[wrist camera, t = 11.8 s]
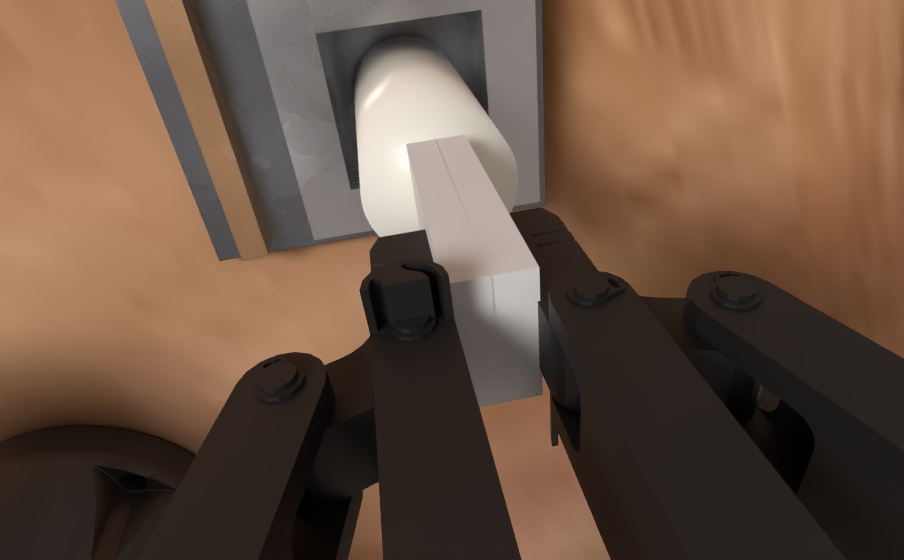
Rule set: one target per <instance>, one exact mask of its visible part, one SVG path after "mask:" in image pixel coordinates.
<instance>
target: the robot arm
mask: <svg viewBox="0 0 904 560" xmlns="http://www.w3.org/2000/svg"><path fill="white" fill-rule="evenodd" d="M406 148H407V154H408V160H409V167H410V173H411V179H412V185H413V192H414V198H415V204H416V210H417V217H418V223H419V229H420V230H418V231H413V232H407V233H401V234H395V235H389V236H383V237H379V238H378V239H377V241H376V242H375V244H374V245H373V247H372V248H371V250H370V262H371V272H370V274H369V275H368V276H367V277H366V278H365V279H364V280H363V281H362V284H361V287H360V294H361V298H362V302H363V306H364V311H365V315H366V319H367V323H368V327H369V331H370V337H369V338H368V339H367V340H366V342H365V343H364V344H363V345H362V346H360V347H359V348H358V349H356V350H355V351H354V352H352V353H350V354H349V355H347V356H345V357H343V358H341V359H338V360H336V361H334V362H331V363H329V364H327V365H324V364H323V362H322V361H321V360H320V359H319V358H317V357H315V356H313V355H311V354H307V353H298V352H293V353H286V354H280V355H276V356H274V357H271V358H269V359H266V360H264V361H261V362H260V363H258V364H257V365H256V366H254V367H253V368H251V369H250V370H248V371H247V372H246V373H245V374H244V375H243V377H242V378H241V379H240V380H239V382H238V383H237V384H236V386H235V387H234V389H233V391H232V393H231V395H230V396H229V398H228V400H227V402H226V403H225V405H224V407H223V409H222V410H221V412H220V414H219V416H218V418H217V419H216V421H215V423H214V425H213V426H212V428H211V430H210V432H209V434H208V435H207V437H206V439H205V441H204V442H203V444H202V446H201V448H200V449H199V451H198V453H197V455H196V457H194V456H193V455H191V454H190V453H188V452H186V451H185V450H183V449H181V448H179V447H177V446H175V445H173V444H170V443H168V442H166V441H163V440H161V439H158V438H155V437H152V436H148V435H145V434H141V433H137V432H133V431H128V430H123V429H116V428H109V427H97V426H68V427H57V428H49V429H43V430H38V431H33V432H29V433H26V434H22V435H19V436H16V437H13V438H11V439H9V440H6V441H4V442H2V443H0V560H348V556H349V552H350V548H351V543H352V539H353V535H354V531H355V527H356V523H357V519H358V514H359V510H360V506H361V502H362V497H363V490H364V489H366V488H367V487H369V486H371V485H373V484H375V483H377V482H379V492H380V509H381V526H382V543H383V560H521V556H520V553H519V549H518V546H517V542H516V538H515V535H514V531H513V528H512V524H511V520H510V517H509V513H508V510H507V506H506V502H505V499H504V495H503V492H502V488H501V484H500V481H499V477H498V473H497V470H496V466H495V463H494V459H493V455H492V452H491V448H490V445H489V441H488V437H487V434H486V430H485V427H484V423H483V419H482V416H481V412H480V409H479V407H482V406H487V405H492V404H497V403H502V402H507V401H512V400H517V399H522V398H528V397H533V396H538V395H543V388H542V374H543V376H544V379H545V381H546V383H547V385H548V388H549V390H550V419H551V441H552V446H557V445H558V433H559V435H560V438H561V440H562V443H563V445H564V447H565V450H566V452H567V455H568V457H569V460H570V462H571V464H572V467H573V469H574V472H575V474H576V476H577V479H578V481H579V484H580V486H581V489H582V491H583V493H584V496H585V498H586V501H587V503H588V506H589V508H590V510H591V513H592V515H593V518H594V520H595V522H596V525H597V527H598V530H599V532H600V535H601V537H602V539H603V542H604V544H605V547H606V549H607V552H608V554H609V556H610V559H611V560H904V359H903V358H901V357H900V356H898V355H896V354H894V353H893V352H891V351H889V350H887V349H886V348H884V347H882V346H880V345H879V344H877V343H875V342H873V341H872V340H870V339H868V338H866V337H865V336H863V335H861V334H859V333H857V332H856V331H854V330H852V329H850V328H849V327H847V326H845V325H843V324H842V323H840V322H838V321H836V320H835V319H833V318H831V317H829V316H828V315H826V314H824V313H822V312H821V311H819V310H817V309H815V308H814V307H812V306H810V305H808V304H806V303H805V302H803V301H801V300H799V299H798V298H796V297H794V296H792V295H791V294H789V293H787V292H785V291H784V290H782V289H780V288H778V287H777V286H775V285H773V284H771V283H770V282H768V281H765V280H763V279H760V278H758V277H756V276H753V275H749V274H744V273H739V272H734V271H716V272H712V273H707V274H702V275H701V276H699V277H697V278H695V279H694V280H692V281H691V283H690V285H689V287H688V289H687V295H686V298H654V297H643V296H638V294H637V293H636V292H635V290H634V289H633V288H632V287H631V285H629V284H628V283H627V282H626V281H624V280H623V279H622V278H620V277H618V276H615V275H613V274H610V273H607V272H600V271H598V270H597V269H596V267H595V266H594V265H593V263H592V262H591V260H590V259H589V258H588V256H587V255H586V254H585V252H584V251H583V249H582V248H581V247H580V245H579V244H578V243H577V241H575V239H574V237H573V236H572V234H571V233H570V232H569V231H567V228H566V226H565V225H564V223H563V222H562V221H561V219H560V218H559V217H558V216H556V215H555V214H553V213H551V212H549V211H547V210H545V209H543V208H536V209H530V210H524V211H519V212H513V213H508V211H507V209H506V207H505V206H504V204H503V202H502V200H501V198H500V197H499V195H498V193H497V191H496V190H495V188H494V186H493V184H492V182H491V181H490V179H489V177H488V175H487V174H486V172H485V170H484V168H483V167H482V165H481V163H480V161H479V159H478V158H477V156H476V154H475V152H474V151H473V149H472V147H471V145H470V144H469V142H468V140H467V138H466V136H465V135H458V136H452V137H446V138H440V139H433V140H427V141H421V142H415V143H408V144H406ZM763 386H764V387H765V388H766V389H768V390H769V391H770V392H772V393H773V394H774V395H776V396H777V397H778V398H780V401H779V404H778V406H773V405H771V404H770V403H768V402H766V401H765V400H763V399H762V398H761V397H760V395H761V391H762V387H763Z"/></svg>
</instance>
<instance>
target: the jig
mask: <svg viewBox="0 0 904 560" xmlns="http://www.w3.org/2000/svg"><path fill="white" fill-rule="evenodd" d="M115 1H116V3H117V6H118V8H119V11H120V13H121V16H122V18H123V21H124V23H125V26H126V28H127V31H128V33H129V36H130V38H131V41H132V43H133V46H134V48H135V51H136V53H137V56H138V58H139V61H140V63H141V66H142V68H143V71H144V73H145V76H146V78H147V81H148V83H149V86H150V88H151V91H152V93H153V96H154V98H155V101H156V103H157V106H158V108H159V111H160V113H161V116H162V118H163V121H164V123H165V126H166V128H167V131H168V133H169V136H170V138H171V141H172V143H173V146H174V148H175V151H176V153H177V156H178V158H179V161H180V163H181V166H182V168H183V171H184V173H185V176H186V178H187V181H188V183H189V186H190V188H191V191H192V193H193V196H194V198H195V201H196V203H197V206H198V208H199V211H200V213H201V216H202V218H203V221H204V223H205V226H206V228H207V231H208V233H209V236H210V238H211V241H212V243H213V246H214V248H215V251H216V253H217V256H218V258H219V261H222V260H228V259H234V258H240V257H241V258H242V259H248V258H254V257H259V256H265V255H269V252H275V251H280V250H286V249H292V248H298V247H304V246H310V245H315V244H321V243H327V242H333V241H339V240H345V239H350V238H356V237H362V236H368V235H374V234H377V233H376V232H375V231H374V230H373V228H372V227H371V225H370V224H369V222H368V220H367V218H366V216H365V213H364V210H363V207H362V202H361V195H360V180H359V165H358V149H357V134H356V119H355V103H354V80H355V75H356V72H357V69H358V67H359V65H360V63H361V61H362V59H363V58H364V57H365V55H366V54H367V53H368V52H369V51H370V50H371V49H372V48H373V47H375V46H376V45H377V44H379V43H381V42H383V41H385V40H387V39H390V38H394V37H399V36H412V37H417V38H421V39H424V40H426V41H428V42H430V43H432V44H433V45H435V46H436V47H438V48H439V49H440V50H441V51H442V52H443V53H444V54H445V56H446V57H447V58H448V59H449V61H450V62H451V64H452V65H453V67H454V68H455V69H456V71H457V72H458V74H459V75H460V76H461V78H462V79H463V81H464V82H465V84H466V85H467V86H468V88H469V89H470V91H471V92H472V94H473V95H474V96H475V98H476V99H477V101H478V102H479V103H480V105H481V106H482V108H483V109H484V111H485V112H486V113H487V115H488V116H489V118H490V119H491V120H492V122H493V123H494V125H495V126H496V128H497V129H498V130H499V132H500V133H501V135H502V136H503V137H504V139H505V140H506V142H507V143H508V145H509V147H510V148H511V150H512V153H513V155H514V157H515V160H516V164H517V168H518V176H519V179H518V192H517V197H516V201H515V204H514V207H513V209H512V211H514V210H519V209H525V208H531V207H537V206H543V205H545V150H544V91H543V33H542V0H115Z"/></svg>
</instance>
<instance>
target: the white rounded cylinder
mask: <svg viewBox="0 0 904 560" xmlns="http://www.w3.org/2000/svg"><path fill="white" fill-rule="evenodd" d="M354 103H355V119H356V134H357V149H358V165H359V180H360V195H361V202H362V207H363V210H364V213H365V216H366V218H367V220H368V222H369V224H370V225H371V227H372V228H373V230H374V231H375V232H376V233H377V234H378V236H379V237H383V236H389V235H395V234H401V233H407V232H413V231H418V230H420V229H419V223H418V217H417V210H416V204H415V198H414V192H413V185H412V179H411V173H410V167H409V160H408V154H407V148H406V144H408V143H415V142H421V141H427V140H433V139H440V138H446V137H452V136H458V135H465V136H466V138H467V140H468V142H469V144H470V145H471V147H472V149H473V151H474V152H475V154H476V156H477V158H478V159H479V161H480V163H481V165H482V167H483V168H484V170H485V172H486V174H487V175H488V177H489V179H490V181H491V182H492V184H493V186H494V188H495V190H496V191H497V193H498V195H499V197H500V198H501V200H502V202H503V204H504V206H505V207H506V209H507V211H508V213H511V211H512V209H513V207H514V204H515V201H516V197H517V192H518V179H519V176H518V168H517V164H516V160H515V157H514V155H513V153H512V150H511V148H510V147H509V145H508V143H507V142H506V140H505V139H504V137H503V136H502V135H501V133H500V132H499V130H498V129H497V128H496V126H495V125H494V123H493V122H492V120H491V119H490V118H489V116H488V115H487V113H486V112H485V111H484V109H483V108H482V106H481V105H480V103H479V102H478V101H477V99H476V98H475V96H474V95H473V94H472V92H471V91H470V89H469V88H468V86H467V85H466V84H465V82H464V81H463V79H462V78H461V76H460V75H459V74H458V72H457V71H456V69H455V68H454V67H453V65H452V64H451V62H450V61H449V59H448V58H447V57H446V56H445V54H444V53H443V52H442V51H441V50H440V49H439V48H438V47H436V46H435V45H433V44H432V43H430V42H428V41H426V40H424V39H421V38H417V37H412V36H399V37H394V38H390V39H387V40H385V41H383V42H381V43H379V44H377V45H376V46H375V47H373V48H372V49H371V50H370V51H369V52H368V53H367V54H366V55H365V57H364V58H363V59H362V61H361V63H360V65H359V67H358V69H357V72H356V75H355V80H354Z"/></svg>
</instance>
